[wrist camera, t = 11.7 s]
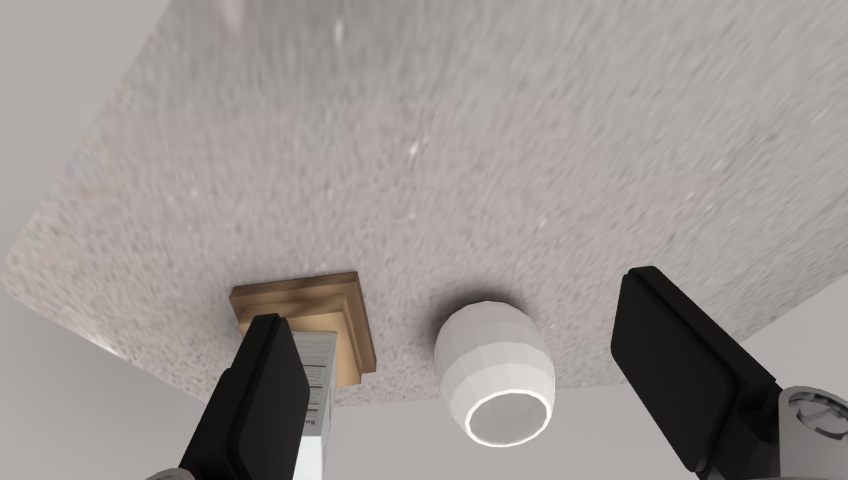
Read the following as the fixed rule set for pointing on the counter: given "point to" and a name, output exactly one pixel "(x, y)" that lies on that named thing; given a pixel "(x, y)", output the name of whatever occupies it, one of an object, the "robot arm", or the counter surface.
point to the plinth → (310, 292)
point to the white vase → (495, 374)
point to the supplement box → (316, 400)
